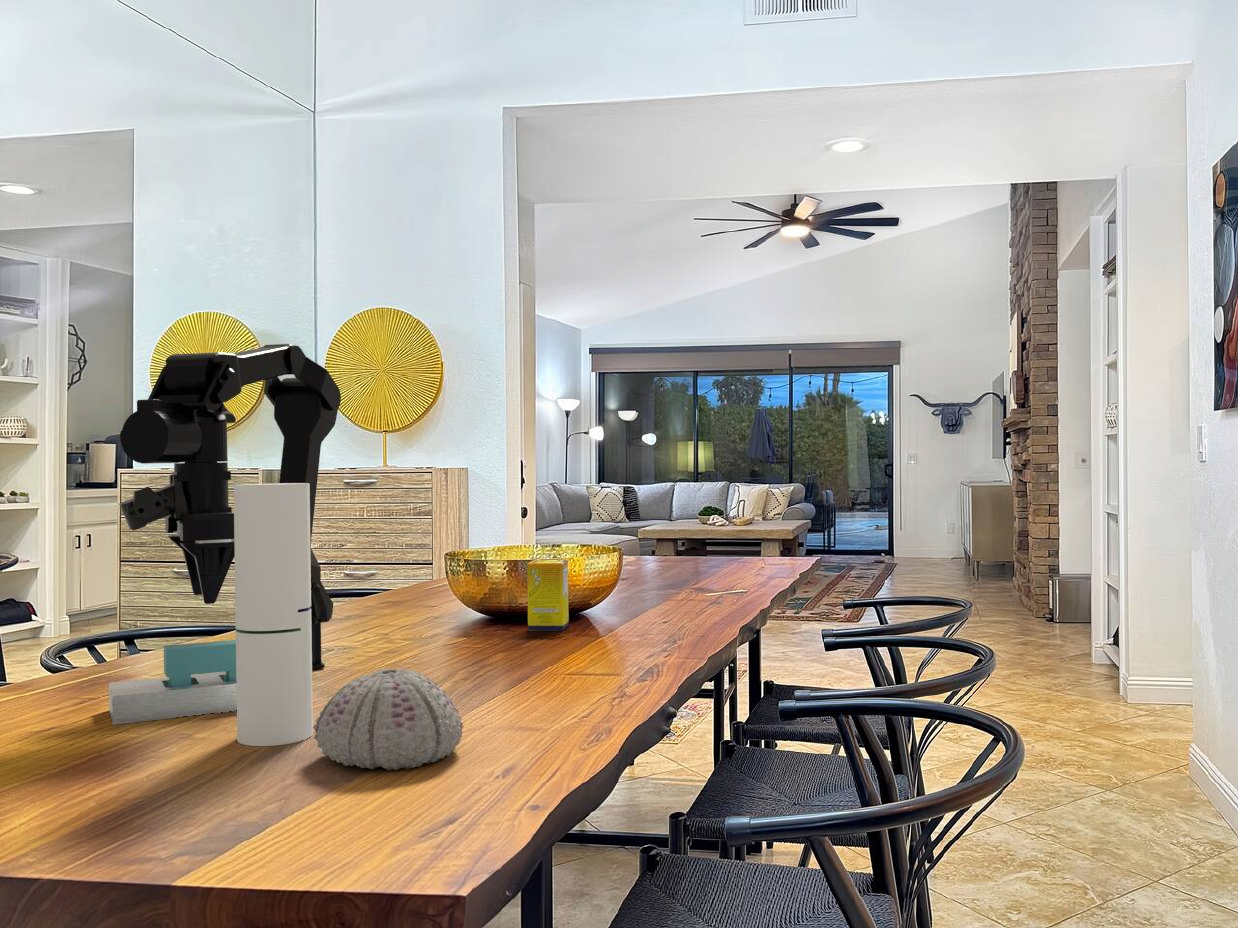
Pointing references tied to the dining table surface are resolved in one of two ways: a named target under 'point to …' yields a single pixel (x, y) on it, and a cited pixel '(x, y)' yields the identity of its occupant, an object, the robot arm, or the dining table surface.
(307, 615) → the cylindrical container
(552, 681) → the dining table surface
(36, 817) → the dining table surface
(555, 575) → the supplement box
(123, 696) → the rail
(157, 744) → the dining table surface
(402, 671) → the sea urchin shell
